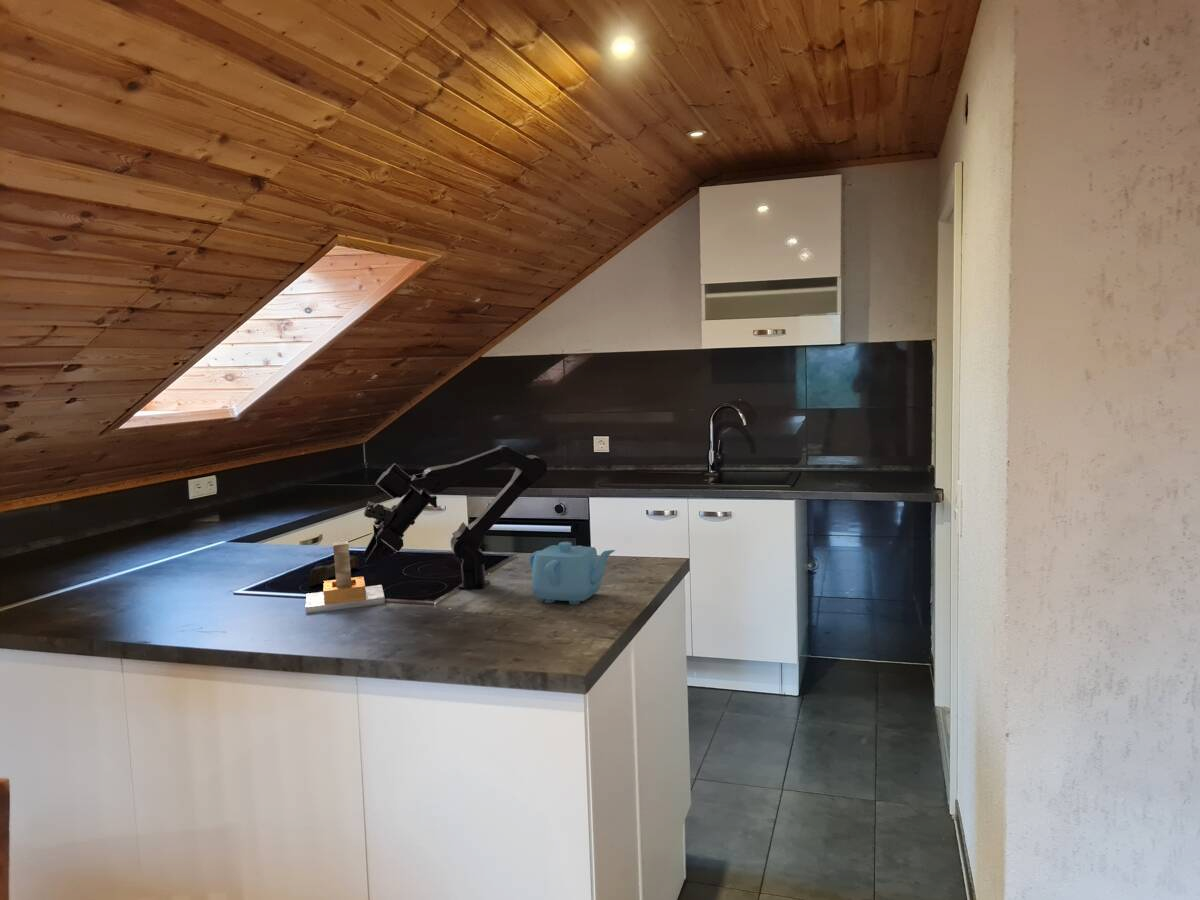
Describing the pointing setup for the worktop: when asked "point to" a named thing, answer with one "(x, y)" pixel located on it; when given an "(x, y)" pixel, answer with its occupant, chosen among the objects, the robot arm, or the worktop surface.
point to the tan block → (342, 564)
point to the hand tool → (328, 571)
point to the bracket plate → (320, 606)
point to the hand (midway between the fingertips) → (365, 559)
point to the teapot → (567, 572)
